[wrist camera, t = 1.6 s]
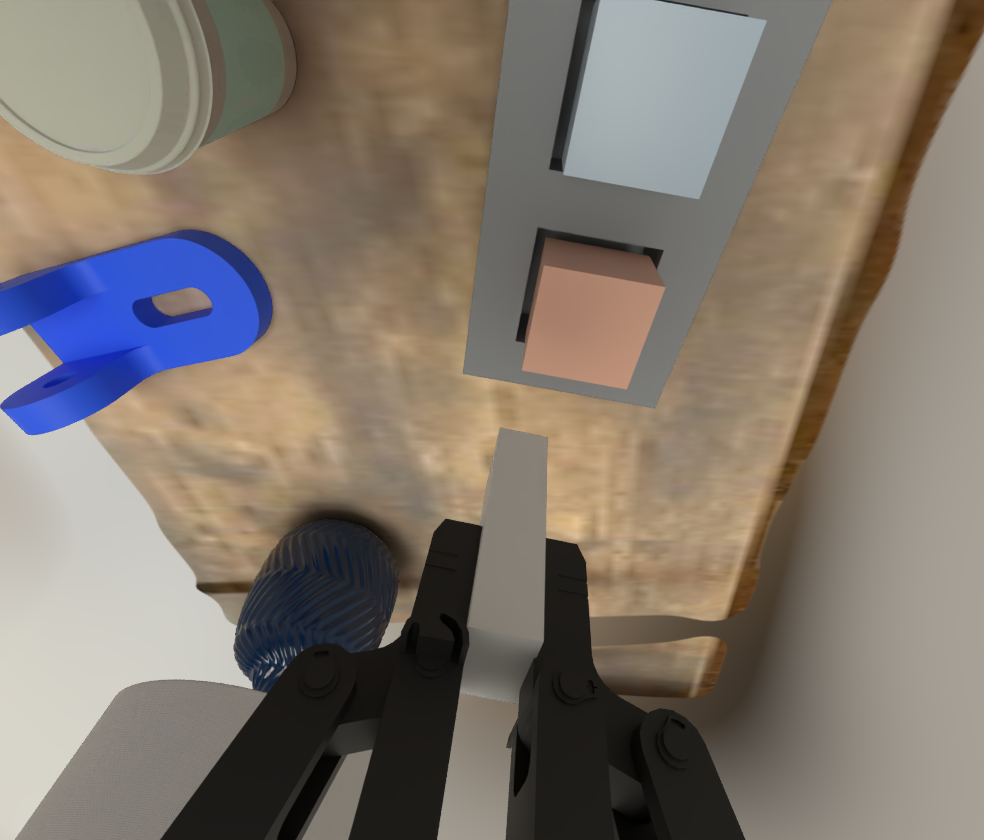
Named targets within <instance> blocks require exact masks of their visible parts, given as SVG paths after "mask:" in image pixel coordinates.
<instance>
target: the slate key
mask: <svg viewBox="0 0 984 840" xmlns="http://www.w3.org/2000/svg"><path fill="white" fill-rule="evenodd" d="M766 22H767V20H761V19H756V18H750V17H745V16H739V15H734V14H728V13H722V12H717V11H711V10H706V9H700V8H695V7H689V6H684V5H678V4H673V3H667V2H662V1H656V0H596V2H595V4H594V5H593V10H592V14H591V19H590V24H589V29H588V34H587V39H586V43H585V48H584V53H583V58H582V63H581V68H580V73H579V77H578V82H577V87H576V92H575V97H574V102H573V106H572V111H571V116H570V121H569V126H568V131H567V135H566V140H565V145H564V150H563V155H562V167H563V175H567V176H573V177H578V178H584V179H589V180H595V181H600V182H606V183H611V184H617V185H623V186H628V187H634V188H639V189H645V190H650V191H656V192H661V193H667V194H672V195H678V196H683V197H689V198H694V199H699V198H700V196H701V193H702V190H703V188H704V185H705V182H706V180H707V177H708V175H709V172H710V169H711V167H712V164H713V161H714V159H715V156H716V153H717V151H718V148H719V146H720V143H721V140H722V138H723V135H724V132H725V130H726V127H727V124H728V122H729V119H730V117H731V114H732V111H733V109H734V106H735V103H736V101H737V98H738V96H739V93H740V90H741V88H742V85H743V82H744V80H745V77H746V74H747V72H748V69H749V67H750V64H751V61H752V59H753V56H754V53H755V51H756V48H757V45H758V43H759V40H760V38H761V35H762V32H763V30H764V27H765V24H766Z"/></svg>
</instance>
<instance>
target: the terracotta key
mask: <svg viewBox="0 0 984 840" xmlns="http://www.w3.org/2000/svg"><path fill="white" fill-rule="evenodd" d="M665 288H666V287H665V285H664V283H663V281H662V279H661V277H660V275H659V273H658V272H657V270H656V268H655V266H654V264H653V262H652V260H651V258H650V256H647V255H642V254H636V253H631V252H625V251H620V250H614V249H609V248H603V247H598V246H592V245H586V244H581V243H575V242H570V241H564V240H559V239H553V238H548V237H545V242H544V247H543V252H542V257H541V261H540V266H539V271H538V276H537V281H536V286H535V291H534V295H533V300H532V305H531V310H530V315H529V320H528V324H527V329H526V336H525V345H524V354H523V363H522V371H527V372H533V373H538V374H544V375H549V376H555V377H560V378H566V379H572V380H577V381H583V382H588V383H594V384H599V385H605V386H610V387H616V388H621V389H627V388H628V385H629V383H630V380H631V377H632V375H633V372H634V369H635V367H636V364H637V361H638V359H639V356H640V354H641V351H642V348H643V346H644V343H645V340H646V338H647V335H648V332H649V330H650V327H651V325H652V322H653V319H654V317H655V314H656V311H657V309H658V306H659V304H660V301H661V298H662V296H663V293H664V290H665Z"/></svg>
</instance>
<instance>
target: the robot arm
mask: <svg viewBox="0 0 984 840" xmlns="http://www.w3.org/2000/svg"><path fill="white" fill-rule="evenodd" d="M547 450H548V437H544V436H539V435H535V434H530V433H525V432H520V431H515V430H510V429H505V428H501V427H500V429H499V434H498V438H497V442H496V447H495V451H494V455H493V460H492V464H491V468H490V473H489V477H488V481H487V486H486V490H485V496H484V502H483V507H482V513H481V519H480V525H474V524H469V523H464V522H459V521H455V520H450V519H445V520H444V521H443V522H442V523H441V525H440V526H439V527H438V528H437V529H436V530H435V532H434V533H433V537H432V541H431V545H430V548H429V553H428V556H427V559H426V563H425V567H424V570H423V574H422V578H421V582H420V585H419V589H418V593H417V596H416V600H415V604H414V607H413V611H412V615H411V617H410V618H409V619H407V621H406V623H405V625H404V627H403V629H402V631H401V636H400V637H399V638H398V639H396V640H395V641H394V642H393V643H391V644H389V645H387V646H385V647H383V648H378V649H374V650H368V651H361V652H354V653H349V652H348V651H347V650H345V649H344V648H343V647H341V646H339V645H335V644H331V643H324V644H316V645H313V646H311V647H309V648H307V649H305V650H303V651H301V652H300V653H299V654H298V655H297V656H296V657H295V658H294V659H293V660H292V661H291V662H290V663H289V664H288V666H287V667H286V669H285V670H284V671H283V673H282V674H281V675H280V677H279V678H278V679H277V681H276V682H275V684H274V685H273V686H272V688H271V689H270V690H269V692H268V693H267V694H266V696H265V697H264V699H263V700H262V701H261V703H260V704H259V705H258V707H257V708H256V709H255V711H254V712H253V714H252V715H251V716H250V718H249V719H248V720H247V722H246V723H245V724H244V726H243V727H242V729H241V730H240V731H239V733H238V734H237V735H236V737H235V738H234V739H233V741H232V742H231V744H230V745H229V746H228V748H227V749H226V750H225V752H224V753H223V754H222V756H221V757H220V759H219V760H218V761H217V763H216V764H215V765H214V767H213V768H212V769H211V771H210V772H209V773H208V775H207V776H206V778H205V779H204V780H203V782H202V783H201V784H200V786H199V787H198V788H197V790H196V791H195V793H194V794H193V795H192V797H191V798H190V799H189V801H188V802H187V803H186V805H185V806H184V808H183V809H182V810H181V812H180V813H179V814H178V816H177V817H176V818H175V820H174V821H173V823H172V824H171V825H170V827H169V828H168V829H167V831H166V832H165V833H164V835H163V836H162V838H161V839H160V840H302V838H303V836H304V835H305V833H306V831H307V829H308V827H309V825H310V823H311V822H312V820H313V818H314V816H315V814H316V812H317V810H318V809H319V807H320V805H321V803H322V801H323V799H324V797H325V796H326V794H327V792H328V790H329V788H330V786H331V784H332V783H333V781H334V779H335V777H336V775H337V773H338V771H339V770H340V768H341V766H342V764H343V762H344V760H345V758H346V757H347V755H348V754H352V753H357V752H362V751H367V750H372V749H373V750H372V754H371V758H370V761H369V765H368V769H367V773H366V776H365V780H364V784H363V787H362V791H361V795H360V798H359V802H358V806H357V809H356V813H355V817H354V820H353V824H352V828H351V831H350V835H349V839H348V840H437V836H438V829H439V822H440V816H441V810H442V803H443V796H444V790H445V784H446V777H447V771H448V764H449V758H450V751H451V745H452V738H453V732H454V725H455V719H456V712H457V706H458V699H459V693H463V694H468V695H474V696H479V697H484V698H489V699H494V700H499V701H504V702H509V703H514V704H516V702H517V699H518V697H519V712H518V719H517V721H516V723H515V725H514V727H513V729H512V731H511V733H510V736H509V738H508V743H507V748H512V754H511V769H510V783H509V784H510V785H509V799H508V800H509V801H508V813H507V828H506V840H745V838H744V835H743V833H742V831H741V828H740V825H739V823H738V821H737V818H736V816H735V814H734V811H733V809H732V807H731V804H730V802H729V799H728V797H727V795H726V792H725V790H724V787H723V785H722V783H721V780H720V778H719V776H718V773H717V771H716V768H715V766H714V763H713V761H712V759H711V756H710V754H709V752H708V749H707V747H706V744H705V743H704V741H703V739H702V737H701V736H700V734H699V732H698V730H697V729H696V728H695V727H694V726H693V725H692V724H691V723H690V722H689V721H688V720H687V719H686V718H685V717H684V716H682V715H680V714H678V713H676V712H675V711H673V710H667V709H661V708H660V709H657V710H654V711H651V712H649V713H647V712H645V711H643V710H641V709H640V708H638V707H636V706H634V705H633V704H630V703H629V702H627V701H625V700H624V699H622V698H620V697H619V696H618V695H616V694H615V693H613V692H612V691H611V690H610V689H609V688H608V687H607V686H606V685H605V684H604V683H603V681H602V680H601V678H600V677H599V675H598V674H597V671H596V669H595V666H594V664H593V658H592V650H591V635H590V619H589V604H588V599H587V598H588V588H587V584H586V583H587V573H586V561H585V559H584V557H583V555H582V553H581V551H580V549H579V547H578V545H577V544H573V543H568V542H563V541H558V540H553V539H548V538H546V500H547Z"/></svg>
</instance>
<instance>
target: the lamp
mask: <svg viewBox="0 0 984 840" xmlns="http://www.w3.org/2000/svg"><path fill="white" fill-rule="evenodd" d="M394 559H395V557H394V555H393V554H391V550H390V548H387V547H386V543H384V542H382V541H381V538H380V537H376V535H375V533H372V532H370V530H369V529H368V528H366V527H363V526H361V525H359V524H355V523H353V522H348V521H345V520H337V519H323V520H316V521H312V522H308V523H305V524H303V525H300V526H299V527H297V528H295V529H293V530H292V531H291V532H289V533H288V534H287V535H285V536H284V537H283V538H282V539H281V540H280V541H279V543H278V544H277V545H276V547H275V548H274V549H273V550H272V551H271V553H270V554H269V556H268V558H267V559H266V561H265V562H264V564H263V566H262V568H261V570H260V572H259V573H258V575H257V576H256V579H255V581H254V584H253V586H252V587H251V590H250V591H249V593H248V595H247V598H246V600H245V603H244V606H243V608H242V611H241V614H240V617H239V620H238V624H237V628H236V633H235V635H236V637H235V643H234V652H235V659H236V661H237V662H238V666H239V668H240V669H241V670H242V672H243V674H244V675H245V676H247V677H248V678H249V680H250V681H252V685H253V689H248V688H244V687H239V686H234V685H228V684H222V683H215V682H207V681H195V680H158V681H149V682H143V683H139V684H135V685H132V686H130V687H127V688H125V689H124V690H122V691H121V692H119V693H118V694H117V695H116V696H115V698H114V699H113V701H112V702H111V704H110V705H109V706H108V708H107V709H106V711H105V712H104V713H103V715H102V716H101V718H100V719H99V721H98V722H97V724H96V725H95V726H94V728H93V729H92V731H91V732H90V733H89V735H88V736H87V738H86V739H85V741H84V742H83V743H82V745H81V746H80V748H79V749H78V750H77V752H76V754H75V755H74V756H73V758H72V759H71V760H70V762H69V763H68V765H67V766H66V768H65V769H64V770H63V772H62V774H61V775H60V776H59V778H58V779H57V780H56V782H55V783H54V785H53V786H52V788H51V789H50V790H49V792H48V793H47V795H46V796H45V797H44V799H43V800H42V802H41V803H40V805H39V806H38V807H37V809H36V810H35V812H34V813H33V815H32V816H31V817H30V819H29V820H28V822H27V823H26V824H25V826H24V827H23V829H22V830H21V832H20V833H19V834H18V836H17V837H16V839H15V840H160V839H161V838H162V836H163V835H164V833H165V832H166V831H167V829H168V828H169V827H170V825H171V824H172V823H173V821H174V820H175V818H176V817H177V816H178V814H179V813H180V812H181V810H182V809H183V808H184V806H185V805H186V803H187V802H188V801H189V799H190V798H191V797H192V795H193V794H194V793H195V791H196V790H197V788H198V787H199V786H200V784H201V783H202V782H203V780H204V779H205V778H206V776H207V775H208V773H209V772H210V771H211V769H212V768H213V767H214V765H215V764H216V763H217V761H218V760H219V759H220V757H221V756H222V754H223V753H224V752H225V750H226V749H227V748H228V746H229V745H230V744H231V742H232V741H233V739H234V738H235V737H236V735H237V734H238V733H239V731H240V730H241V729H242V727H243V726H244V724H245V723H246V722H247V720H248V719H249V718H250V716H251V715H252V714H253V712H254V711H255V709H256V708H257V707H258V705H259V704H260V703H261V701H262V700H263V699H264V697H265V696H266V694H267V693H268V692H269V690H270V689H271V688H272V686H273V685H274V684H275V682H276V681H277V679H278V678H279V677H280V675H281V674H282V673H283V671H284V670H285V669H286V667H287V666H288V664H289V663H290V662H291V661H292V660H293V659H294V658H295V657H296V656H297V655H298V654H299V653H300V652H301V651H303V650H305V649H307V648H309V647H311V646H313V645H316V644H324V643H331V644H335V645H339V646H341V647H343V648H344V649H345V650H347V651H348V652H349V653H354V652H361V651H368V650H374V649H378V647H379V645H380V643H381V640H382V637H383V635H384V634H385V630H386V628H387V626H388V623H389V621H390V618H391V614H392V612H393V609H394V605H395V602H396V598H397V593H398V583H399V578H398V576H399V571H398V569H397V563H396V561H395V560H394ZM372 750H373V749H372ZM372 750H367V751H362V752H357V753H352V754H348V755H347V757H346V758H345V760H344V762H343V764H342V766H341V768H340V770H339V771H338V773H337V775H336V777H335V779H334V781H333V783H332V784H331V786H330V788H329V790H328V792H327V794H326V796H325V797H324V799H323V801H322V803H321V805H320V807H319V809H318V810H317V812H316V814H315V816H314V818H313V820H312V822H311V823H310V825H309V827H308V829H307V831H306V833H305V835H304V836H303V838H302V840H348V839H349V835H350V831H351V828H352V824H353V820H354V817H355V813H356V809H357V806H358V802H359V798H360V795H361V791H362V787H363V784H364V780H365V776H366V773H367V769H368V765H369V761H370V758H371V754H372Z"/></svg>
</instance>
